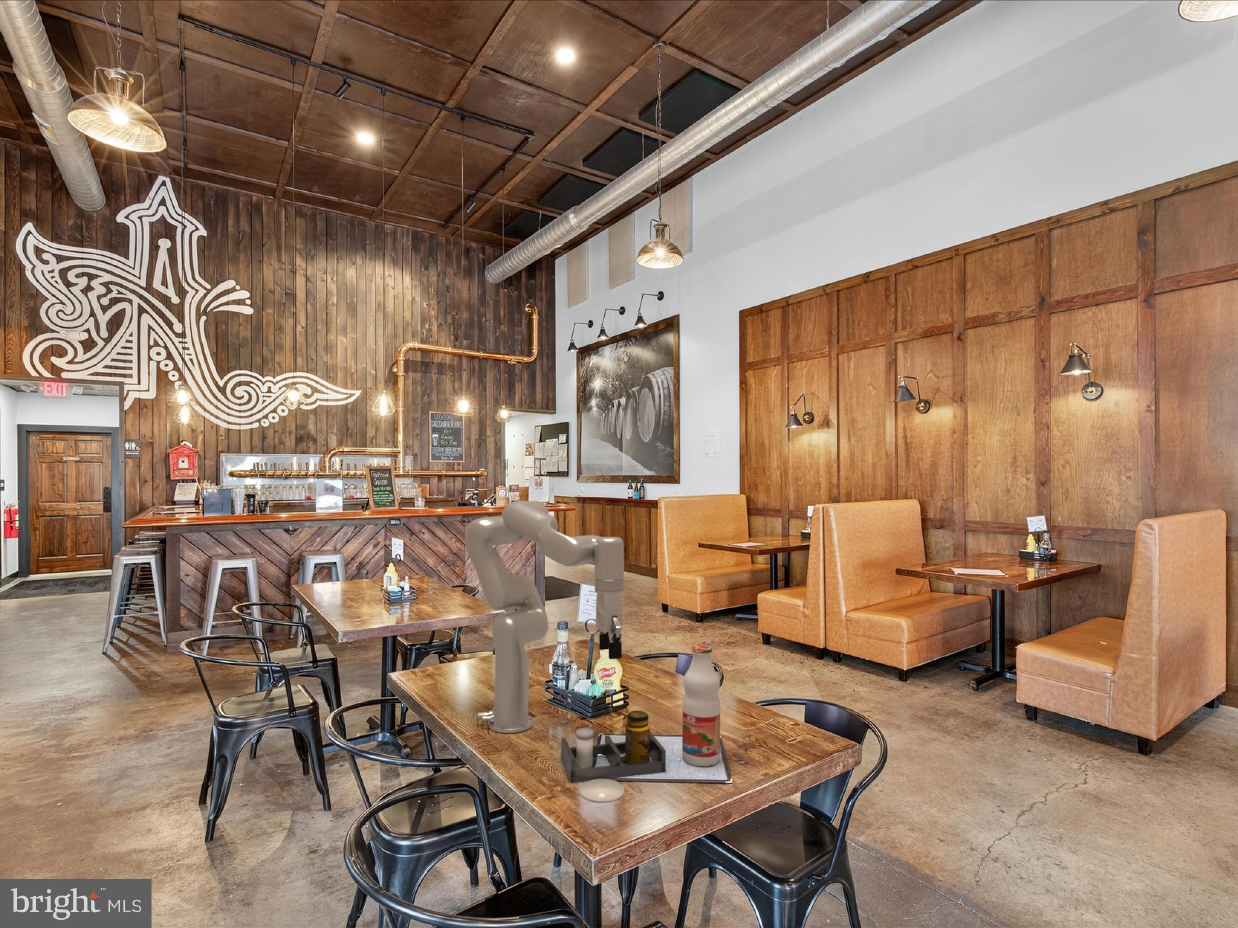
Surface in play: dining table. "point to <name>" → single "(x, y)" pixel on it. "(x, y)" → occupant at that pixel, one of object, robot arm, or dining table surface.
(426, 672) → the dining table surface
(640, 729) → the condiment
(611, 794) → the coaster
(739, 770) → the dining table surface
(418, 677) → the dining table surface
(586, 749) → the salt shaker
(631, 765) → the caddy
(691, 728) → the fruit juice
